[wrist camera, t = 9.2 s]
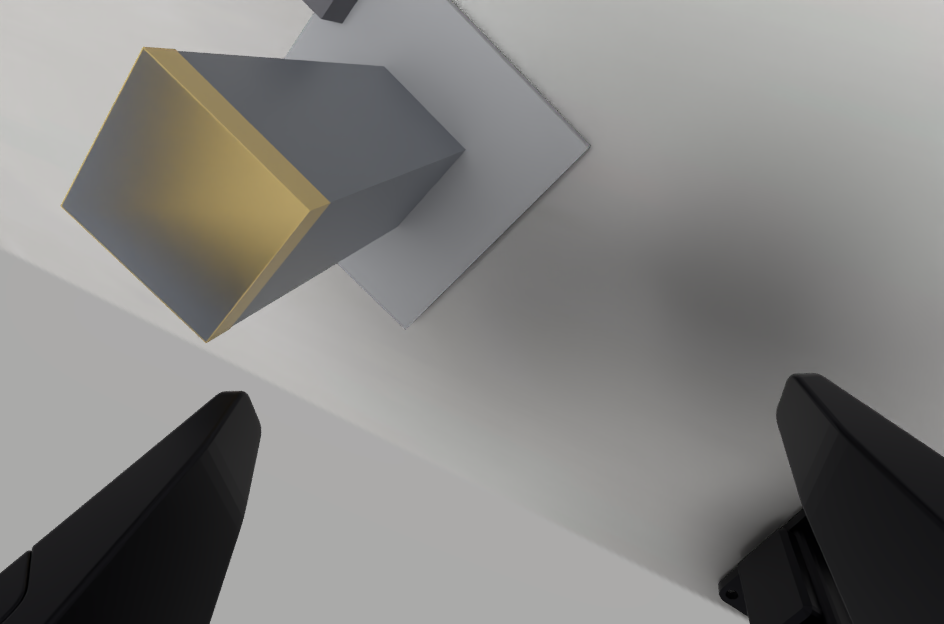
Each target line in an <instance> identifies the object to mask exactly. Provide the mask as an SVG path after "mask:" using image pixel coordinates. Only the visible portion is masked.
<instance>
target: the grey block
mask: <svg viewBox="0 0 944 624" xmlns="http://www.w3.org/2000/svg"><path fill="white" fill-rule="evenodd" d="M465 150H466V149H465V148H464V147H463V146H462V145H461V144H460V143H459V142H458V141H457V140H456V139H455V138H454V137H453V136H452V135H451V134H450V133H449V132H448V131H447V130H446V129H445V128H444V127H443V126H442V125H441V124H440V123H439V122H438V121H437V120H436V119H435V118H434V117H433V116H432V115H431V114H430V113H429V112H428V111H427V110H426V108H425V107H424V106H423V105H422V104H421V103H420V102H419V101H418V100H417V99H416V98H415V97H414V96H413V95H412V94H411V93H410V92H409V91H408V90H407V89H406V88H405V87H404V86H403V85H402V84H401V83H400V82H399V81H398V80H397V79H396V78H395V77H394V76H393V75H392V74H391V73H390V72H389V71H388V70H387V69H386V68H385V67H384V66H374V65H360V64H347V63H333V62H319V61H306V60H292V59H279V58H265V57H251V56H238V55H224V54H211V53H197V52H183V51H177V50H176V49H165V48H152V47H143V48H142V50H141V52H140V54H139V56H138V58H137V60H136V61H135V63H134V65H133V67H132V69H131V71H130V73H129V75H128V77H127V79H126V81H125V83H124V85H123V87H122V88H121V90H120V92H119V94H118V96H117V98H116V100H115V102H114V104H113V106H112V108H111V110H110V112H109V114H108V115H107V117H106V119H105V121H104V123H103V125H102V127H101V129H100V131H99V133H98V135H97V137H96V139H95V140H94V142H93V144H92V146H91V148H90V150H89V152H88V154H87V156H86V158H85V160H84V162H83V164H82V166H81V167H80V169H79V171H78V173H77V175H76V177H75V179H74V181H73V183H72V185H71V187H70V189H69V191H68V192H67V194H66V196H65V198H64V200H63V202H62V204H61V207H62V208H63V209H64V210H65V211H66V212H67V213H68V214H69V215H70V216H71V217H72V218H74V219H75V220H76V221H77V222H78V223H79V224H80V225H81V226H82V227H83V228H84V229H85V230H86V231H87V232H88V233H89V234H91V235H92V236H93V237H94V238H95V239H96V240H97V241H98V242H99V243H100V244H101V245H102V246H103V247H104V248H105V249H107V250H108V251H109V252H110V253H111V254H112V255H113V256H114V257H115V258H116V259H117V260H118V261H119V262H120V263H121V264H122V265H124V266H125V267H126V268H127V269H128V270H129V271H130V272H131V273H132V274H133V275H134V276H135V277H136V278H137V279H138V280H139V281H141V282H142V283H143V284H144V285H145V286H146V287H147V288H148V289H149V290H150V291H151V292H152V293H153V294H154V295H155V296H156V297H158V298H159V299H160V300H161V301H162V302H163V303H164V304H165V305H166V306H167V307H168V308H169V309H170V310H171V311H172V312H173V313H175V314H176V315H177V316H178V317H179V318H180V319H181V320H182V321H183V322H184V323H185V324H186V325H187V326H188V327H189V328H191V329H192V330H193V331H194V332H195V333H196V334H197V335H198V336H199V337H200V338H201V339H202V340H203V341H204V342H205V343H207V342H209V341H211V340H212V339H214V338H216V337H217V336H219V335H221V334H222V333H224V332H226V331H227V330H229V329H230V328H231V327H232V326H233V325H235V324H237V323H238V322H240V321H242V320H243V319H245V318H247V317H248V316H250V315H252V314H253V313H255V312H257V311H258V310H260V309H262V308H263V307H265V306H267V305H268V304H270V303H272V302H273V301H275V300H277V299H278V298H280V297H282V296H283V295H285V294H287V293H288V292H290V291H292V290H293V289H295V288H297V287H298V286H300V285H302V284H303V283H305V282H307V281H308V280H310V279H312V278H313V277H315V276H317V275H318V274H320V273H322V272H323V271H325V270H327V269H328V268H330V267H332V266H333V265H335V264H337V263H338V262H340V261H341V260H343V259H345V258H346V257H348V256H350V255H351V254H353V253H355V252H356V251H358V250H360V249H361V248H363V247H365V246H366V245H368V244H370V243H371V242H373V241H375V240H376V239H378V238H380V237H381V236H383V235H385V234H386V233H388V232H390V231H391V230H393V229H395V228H396V227H398V225H399V224H400V223H401V222H402V221H403V220H404V219H405V218H406V216H407V215H408V214H409V213H410V212H411V211H412V210H413V209H414V207H415V206H416V205H417V204H418V203H419V202H420V201H421V200H422V199H423V197H424V196H425V195H426V194H427V193H428V192H429V191H430V190H431V188H432V187H433V186H434V185H435V184H436V183H437V182H438V181H439V179H440V178H441V177H442V176H443V175H444V174H445V173H446V172H447V170H448V169H449V168H450V167H451V166H452V165H453V164H454V163H455V161H456V160H457V159H458V158H459V157H460V156H461V155H462V154H463V153H464V151H465Z"/></svg>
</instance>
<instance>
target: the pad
mask: <svg viewBox="0 0 944 624" xmlns="http://www.w3.org/2000/svg"><path fill="white" fill-rule="evenodd" d="M303 1H304V2H305V3H306V4H307V5H308V6H309V7H310V8H311V9H312V10H313V11H314V14H313V15H312V17H311V18H310V20H309V21H308V23H307V24H306V26H305V27H304V29H303V30H302V32H301V34H300V35H299V37H298V38H297V40H296V41H295V43H294V44H293V46H292V47H291V49H290V50H289V52H288V54H287V55H286V57H285V58H284V59H292V60H306V61H319V62H333V63H347V64H360V65H374V66H384V67H385V68H386V69H387V70H388V71H389V72H390V73H391V74H392V75H393V76H394V77H395V78H396V79H397V80H398V81H399V82H400V83H401V84H402V85H403V86H404V87H405V88H406V89H407V90H408V91H409V92H410V93H411V94H412V95H413V96H414V97H415V98H416V99H417V100H418V101H419V102H420V103H421V104H422V105H423V106H424V107H425V108H426V110H427V111H428V112H429V113H430V114H431V115H432V116H433V117H434V118H435V119H436V120H437V121H438V122H439V123H440V124H441V125H442V126H443V127H444V128H445V129H446V130H447V131H448V132H449V133H450V134H451V135H452V136H453V137H454V138H455V139H456V140H457V141H458V142H459V143H460V144H461V145H462V146H463V147H464V148H465V149H466V150H465V151H464V153H463V154H462V155H461V156H460V157H459V158H458V159H457V160H456V161H455V163H454V164H453V165H452V166H451V167H450V168H449V169H448V170H447V172H446V173H445V174H444V175H443V176H442V177H441V178H440V179H439V181H438V182H437V183H436V184H435V185H434V186H433V187H432V188H431V190H430V191H429V192H428V193H427V194H426V195H425V196H424V197H423V199H422V200H421V201H420V202H419V203H418V204H417V205H416V206H415V207H414V209H413V210H412V211H411V212H410V213H409V214H408V215H407V216H406V218H405V219H404V220H403V221H402V222H401V223H400V224H399V225H398V227H396V228H395V229H393V230H391V231H390V232H388V233H386V234H385V235H383V236H381V237H380V238H378V239H376V240H375V241H373V242H371V243H370V244H368V245H366V246H365V247H363V248H361V249H360V250H358V251H356V252H355V253H353V254H351V255H350V256H348V257H346V258H345V259H343V260H341V261H340V262H338V263H337V264H338V265H339V266H340V267H341V268H342V269H343V270H344V271H346V272H347V273H348V274H349V275H350V276H351V277H352V278H353V279H354V280H355V281H356V282H357V283H358V284H359V285H360V286H361V287H362V288H363V289H364V290H365V291H366V292H367V293H368V294H369V295H370V296H371V297H372V298H373V299H374V300H375V301H376V302H377V303H378V304H379V305H380V306H381V307H382V308H383V309H384V310H385V311H387V312H388V313H389V314H390V315H391V316H392V317H393V318H394V319H395V320H396V321H397V322H398V323H399V324H400V325H401V326H402V327H403V328H404V329H405V330H406V329H407V328H408V327H409V326H410V325H411V324H412V323H413V322H414V321H415V320H416V319H417V318H418V317H419V316H420V315H421V314H422V313H423V312H424V311H425V310H426V309H427V308H428V307H429V306H430V305H431V304H432V303H433V302H434V301H435V300H436V299H437V298H438V297H439V296H440V295H441V294H442V293H443V292H444V291H445V290H446V289H447V288H448V287H449V286H450V285H451V284H452V283H453V282H454V281H455V280H456V279H457V278H458V277H459V276H460V275H461V274H462V273H463V272H464V271H465V270H466V269H467V268H468V267H469V266H470V265H471V264H472V263H473V262H474V261H475V260H476V259H477V258H478V257H479V256H480V255H481V254H482V253H483V252H484V251H485V250H486V249H487V248H488V247H489V246H490V245H491V244H492V243H493V242H494V241H495V240H496V239H497V238H498V237H499V236H500V235H501V234H502V233H503V232H505V231H506V230H507V229H508V228H509V227H510V226H511V225H512V224H513V223H514V222H515V221H516V220H517V219H518V218H519V217H520V216H521V215H522V214H523V213H524V212H525V211H526V210H527V209H528V208H529V207H530V206H531V205H532V204H533V203H534V202H535V201H536V200H537V199H538V198H539V197H540V196H541V195H542V194H543V193H544V192H545V191H546V190H547V189H548V188H549V187H550V186H551V185H552V184H553V183H554V182H555V181H556V180H557V179H558V178H559V177H560V176H561V175H562V174H563V173H564V172H565V171H566V170H567V169H568V168H569V167H570V166H571V165H572V164H573V163H574V162H575V161H576V160H577V159H578V158H579V157H580V156H581V155H582V154H583V153H584V152H585V151H586V150H587V149H588V148H589V147H590V145H589V144H588V143H587V142H586V140H585V139H584V138H583V137H582V136H581V135H580V134H579V133H578V132H577V131H576V130H575V129H574V128H573V127H572V126H571V125H570V124H569V123H568V122H567V121H566V120H565V119H564V117H563V116H562V115H561V114H560V113H559V112H558V111H557V110H556V109H555V108H554V107H553V106H552V105H551V104H550V103H549V102H548V101H547V100H546V99H545V98H544V97H543V96H542V94H541V93H540V92H539V91H538V90H537V89H536V88H535V87H534V86H533V85H532V84H531V83H530V82H529V81H528V80H527V79H526V78H525V77H524V76H523V75H522V74H521V73H520V72H519V70H518V69H517V68H516V67H515V66H514V65H513V64H512V63H511V62H510V61H509V60H508V59H507V58H506V57H505V56H504V55H503V54H502V53H501V52H500V51H499V50H498V49H497V47H496V46H495V45H494V44H493V43H492V42H491V41H490V40H489V39H488V38H487V37H486V36H485V35H484V34H483V33H482V32H481V31H480V30H479V29H478V28H477V27H476V26H475V24H474V23H473V22H472V21H471V20H470V19H469V18H468V17H467V16H466V15H465V14H464V13H463V12H462V11H461V10H460V9H459V8H458V7H457V6H456V5H455V4H454V3H453V2H452V0H303Z"/></svg>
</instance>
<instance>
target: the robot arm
mask: <svg viewBox="0 0 944 624" xmlns="http://www.w3.org/2000/svg"><path fill="white" fill-rule="evenodd" d="M776 419H777V424H778V427H779V431H780V434H781V437H782V441H783V444H784V447H785V451H786V454H787V457H788V460H789V464H790V467H791V470H792V474H793V477H794V480H795V484H796V487H797V490H798V494H799V497H800V500H801V503H802V506H803V508H804V509H802V510H801V511H800V512H799V513H798V514H797V515H796V516H794V517H793V518H792V519H791V520H790V521H789V522H788V523H786V524H785V525H784V526H783V527H782V528H781V529H778V530H776V531H775V532H774V533H773V534H772V535H770V536H769V537H768V538H767V539H766V540H765V541H764V542H762V543H761V544H760V545H759V546H758V547H757V548H756V549H755V550H753V551H752V552H751V553H750V554H749V555H748V556H747V557H745V558H744V559H743V560H742V561H741V562H740V563H739V564H738V566H737V567H736V568H735V569H734V570H733V571H732V572H731V573H729V574H728V575H727V576H726V577H725V578H724V579H723V580H721V581H720V583H719V584H718V590H719V595H720V597H721V599H722V600H723V601H724V602H726V603H728V604H729V605H731V606H732V607H734V608H735V609H737V610H739V611H740V612H742V613H743V614H745V615H746V616H748V618H749V622H750V624H944V457H943V456H941V455H940V454H938V453H937V452H936V451H934V450H933V449H931V448H930V447H928V446H927V445H925V444H924V443H922V442H921V441H919V440H918V439H916V438H915V437H913V436H912V435H910V434H909V433H907V432H906V431H904V430H903V429H901V428H900V427H898V426H897V425H895V424H894V423H892V422H891V421H889V420H888V419H886V418H885V417H883V416H882V415H880V414H879V413H877V412H876V411H874V410H873V409H871V408H870V407H868V406H867V405H865V404H864V403H862V402H861V401H859V400H858V399H856V398H855V397H853V396H852V395H850V394H849V393H847V392H846V391H844V390H843V389H841V388H840V387H838V386H837V385H835V384H834V383H833V382H831V381H830V380H828V379H827V378H825V377H823V376H822V375H820V374H816V373H804V374H793V375H791V376H790V377H789V378H788V380H787V382H786V384H785V387H784V390H783V393H782V396H781V398H780V401H779V404H778V407H777V412H776ZM260 438H261V425H260V422H259V419H258V417H257V414H256V413H255V409H254V407H253V405H252V402H251V400H250V398H249V396H248V394H247V393H245V392H243V391H225V392H221V393H219V394H218V395H216V396H215V397H214V398H212V399H211V400H210V401H209V402H207V403H206V404H205V405H204V406H203V407H201V408H200V409H199V410H198V411H197V412H195V413H194V414H193V415H192V416H190V417H189V418H188V419H187V420H186V421H184V422H183V423H182V424H181V425H180V426H179V427H177V428H176V429H175V430H173V431H172V432H171V433H170V434H169V435H167V436H166V437H165V438H164V439H163V440H161V441H160V442H159V443H158V444H157V445H155V446H154V447H153V448H152V449H151V450H149V451H148V452H147V453H146V454H144V455H143V456H142V457H141V458H140V459H138V460H137V461H136V462H135V463H133V464H132V465H131V466H130V467H129V468H127V469H126V470H125V471H124V472H123V473H121V474H120V475H119V476H118V477H116V478H115V479H114V480H113V481H112V482H111V483H109V484H108V485H107V486H106V487H104V488H103V489H102V490H101V491H100V492H98V493H97V494H96V495H95V496H93V497H92V498H91V499H90V500H89V501H87V502H86V503H85V504H84V505H83V506H81V507H80V508H79V509H78V510H76V511H75V512H74V513H73V514H72V515H70V516H69V517H68V518H67V519H66V520H64V521H63V522H62V523H61V524H60V525H58V526H57V527H56V528H55V529H53V530H52V531H51V532H50V533H49V534H47V535H46V536H45V537H44V538H43V539H41V540H40V541H39V542H38V543H36V544H35V545H34V546H33V548H32V551H27V552H25V553H24V554H23V555H22V556H20V557H19V558H18V559H17V560H16V561H14V562H13V563H12V564H11V565H10V566H8V567H7V568H6V569H5V570H3V571H2V572H1V573H0V624H210V621H211V618H212V615H213V611H214V608H215V605H216V602H217V599H218V596H219V593H220V590H221V587H222V584H223V581H224V578H225V575H226V572H227V569H228V566H229V562H230V559H231V556H232V553H233V550H234V547H235V544H236V541H237V538H238V535H239V532H240V529H241V525H242V522H243V519H244V514H245V510H246V506H247V500H248V496H249V492H250V487H251V482H252V476H253V472H254V467H255V462H256V458H257V453H258V448H259V443H260ZM729 590H734V592H728V591H729Z"/></svg>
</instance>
